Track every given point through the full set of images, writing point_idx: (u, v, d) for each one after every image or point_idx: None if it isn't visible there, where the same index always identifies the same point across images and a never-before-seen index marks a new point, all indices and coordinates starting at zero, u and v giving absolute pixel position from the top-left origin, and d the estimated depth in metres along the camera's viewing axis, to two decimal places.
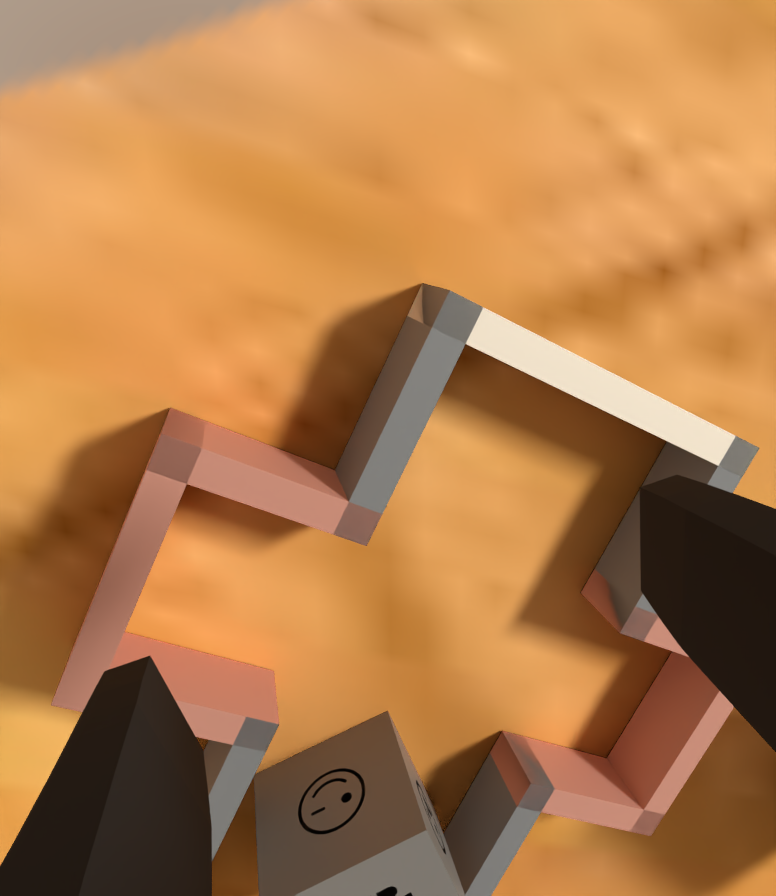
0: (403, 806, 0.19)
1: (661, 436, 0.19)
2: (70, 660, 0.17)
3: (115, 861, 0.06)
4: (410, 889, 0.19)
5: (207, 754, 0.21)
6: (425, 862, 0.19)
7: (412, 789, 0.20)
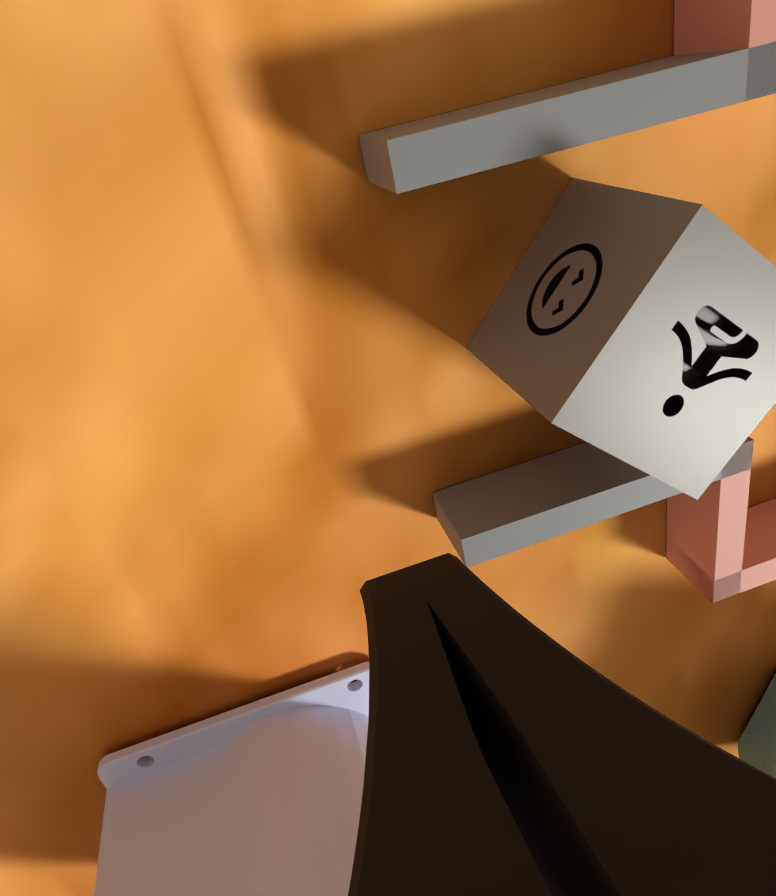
0: None
1: None
2: None
3: None
4: (754, 370, 0.15)
5: (607, 74, 0.15)
6: None
7: None
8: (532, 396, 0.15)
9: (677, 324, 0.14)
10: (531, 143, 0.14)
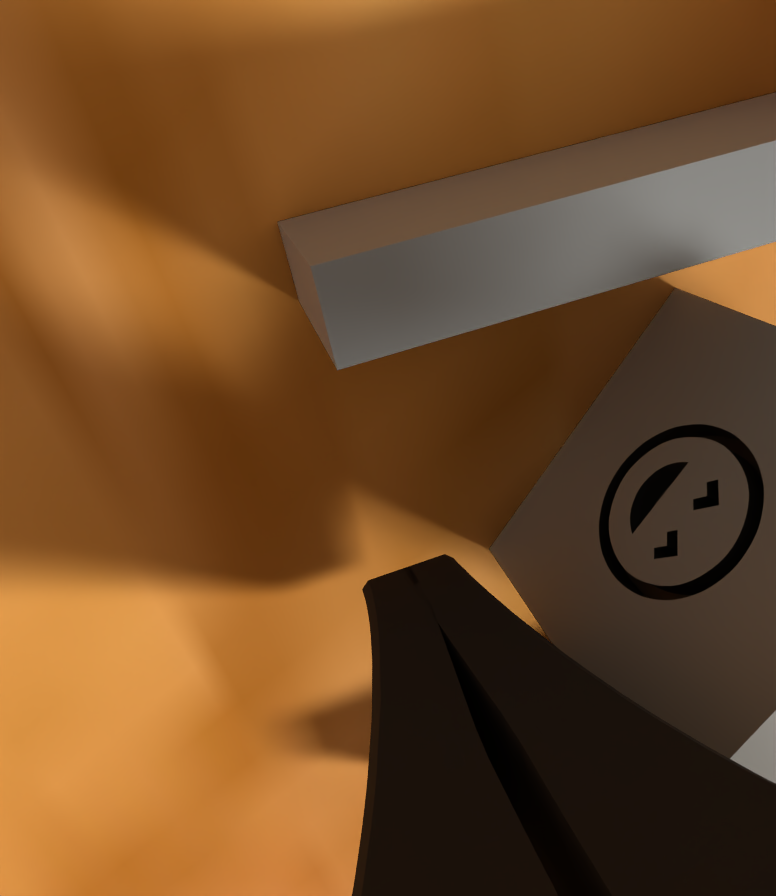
0: None
1: None
2: None
3: None
4: None
5: (743, 109, 0.08)
6: None
7: None
8: None
9: None
10: (621, 259, 0.06)
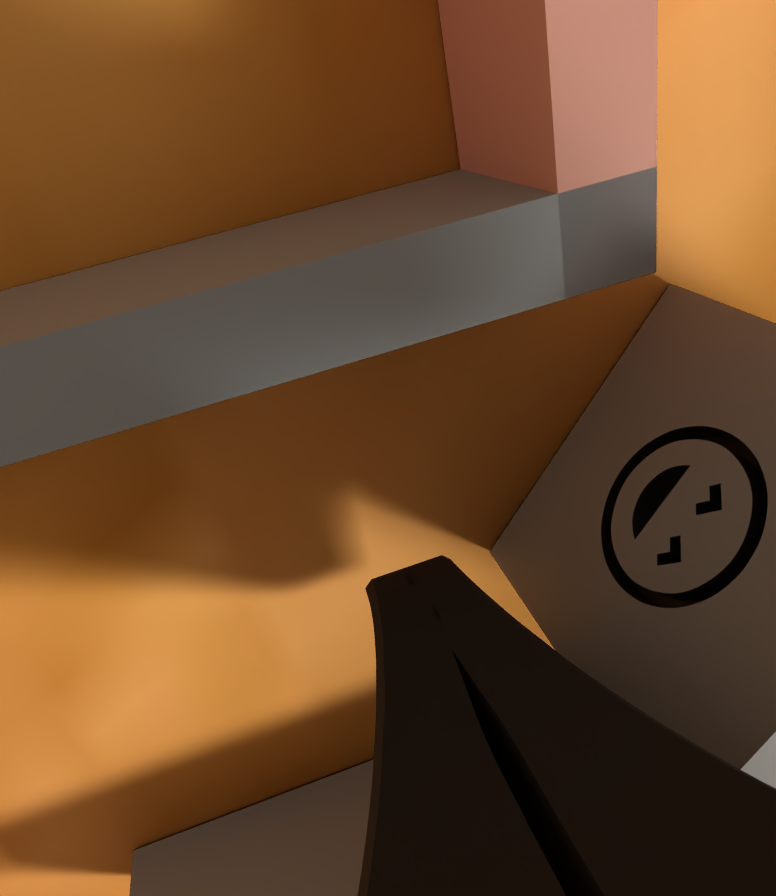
0: None
1: None
2: None
3: None
4: None
5: (301, 221, 0.07)
6: None
7: None
8: None
9: None
10: (32, 426, 0.06)
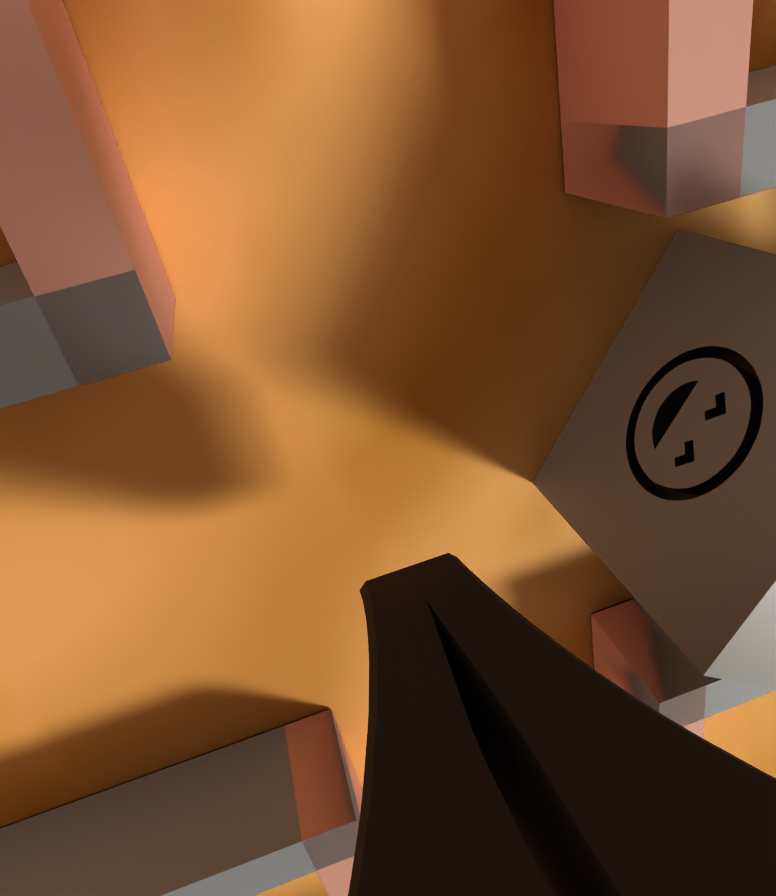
0: None
1: None
2: None
3: None
4: None
5: None
6: None
7: None
8: (658, 608, 0.09)
9: None
10: None
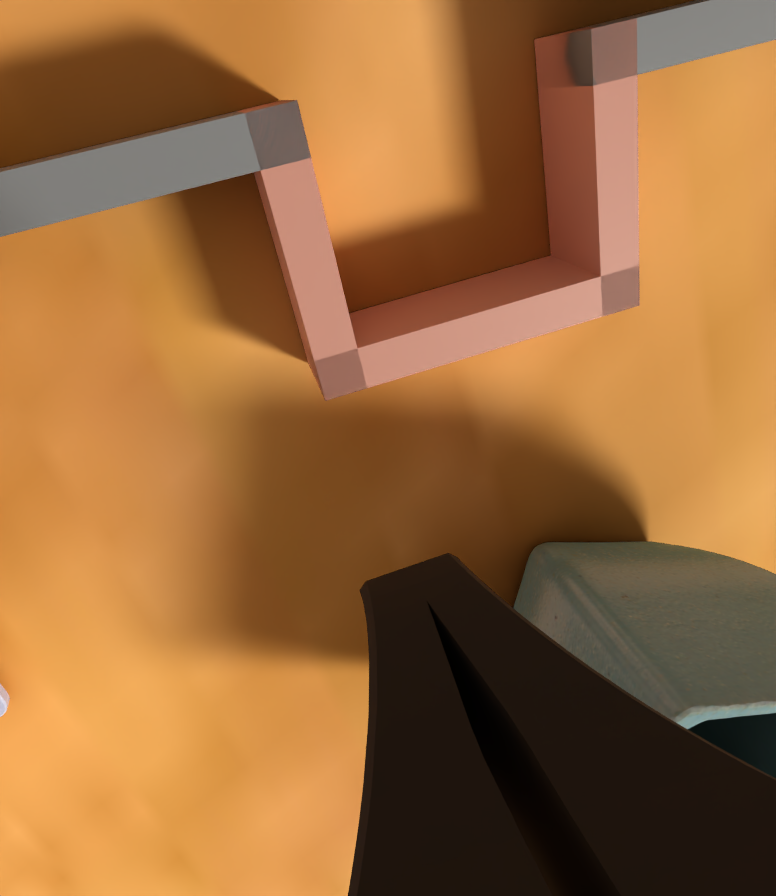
0: None
1: None
2: None
3: None
4: None
5: None
6: None
7: None
8: None
9: None
10: None
